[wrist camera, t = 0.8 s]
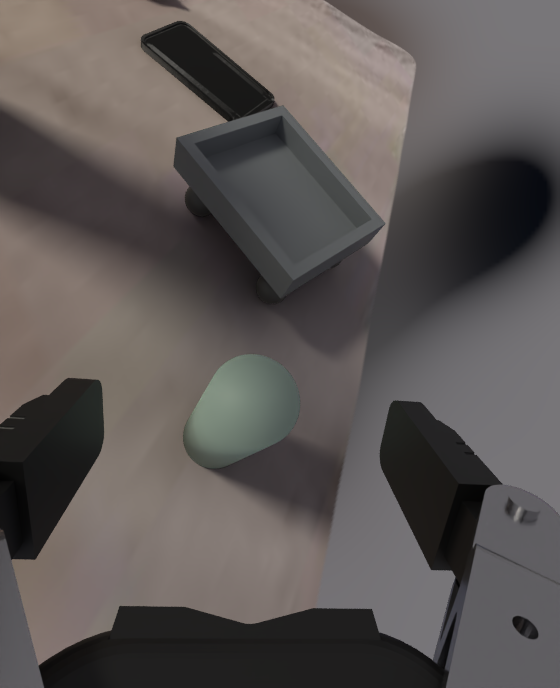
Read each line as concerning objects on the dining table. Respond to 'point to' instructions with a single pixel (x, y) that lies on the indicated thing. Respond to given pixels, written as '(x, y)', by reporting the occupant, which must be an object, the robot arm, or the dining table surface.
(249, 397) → the pale green cylinder
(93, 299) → the dining table surface
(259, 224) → the tray
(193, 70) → the phone
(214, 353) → the dining table surface
